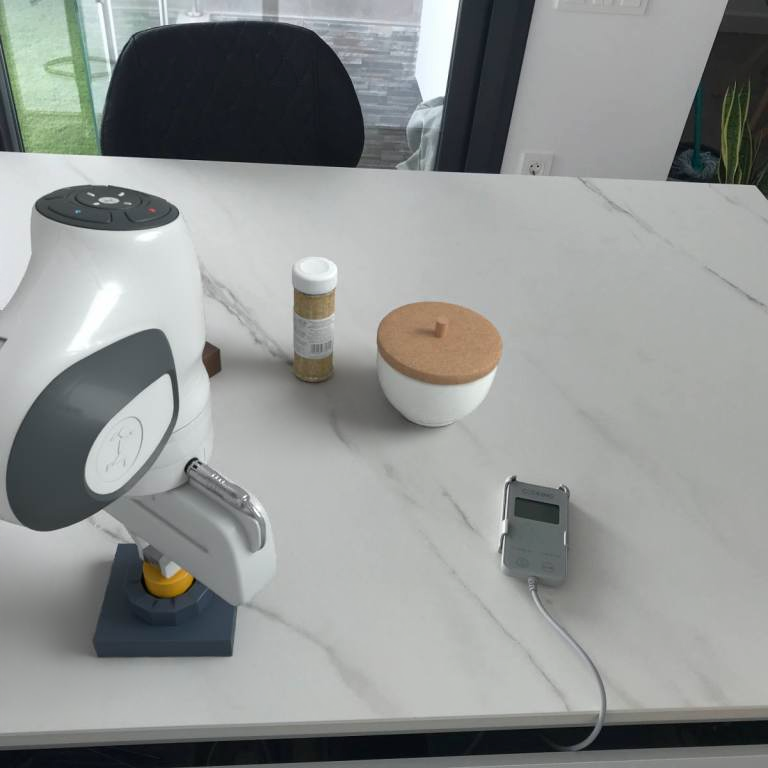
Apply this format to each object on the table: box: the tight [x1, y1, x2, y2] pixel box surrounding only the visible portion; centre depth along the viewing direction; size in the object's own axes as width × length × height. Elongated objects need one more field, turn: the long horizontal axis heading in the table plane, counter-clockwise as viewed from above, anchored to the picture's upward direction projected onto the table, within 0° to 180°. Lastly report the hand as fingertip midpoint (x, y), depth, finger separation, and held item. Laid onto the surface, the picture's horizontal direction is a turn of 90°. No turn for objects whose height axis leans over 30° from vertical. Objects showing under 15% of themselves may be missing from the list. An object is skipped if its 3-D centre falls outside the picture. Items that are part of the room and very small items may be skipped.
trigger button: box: [143, 561, 194, 598], centre depth 59 cm, size 4×4×2 cm
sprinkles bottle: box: [291, 256, 338, 383], centre depth 82 cm, size 5×5×14 cm
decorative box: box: [376, 301, 503, 428], centre depth 80 cm, size 13×13×11 cm
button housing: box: [92, 542, 239, 658], centre depth 61 cm, size 10×9×4 cm
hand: (162, 563), depth 58 cm, fingers closed
